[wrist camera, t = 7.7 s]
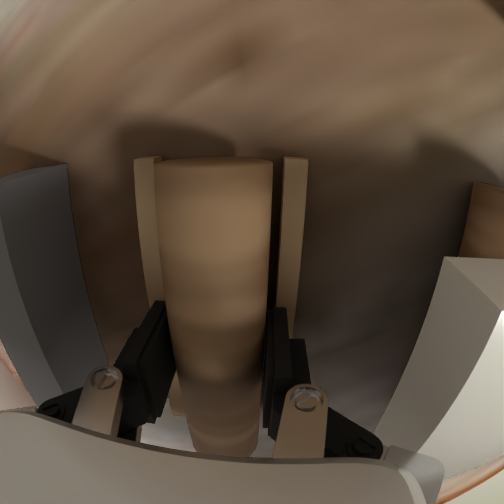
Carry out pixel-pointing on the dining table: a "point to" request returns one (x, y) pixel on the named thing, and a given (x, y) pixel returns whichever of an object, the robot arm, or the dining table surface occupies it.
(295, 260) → the track
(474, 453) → the slab
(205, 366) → the roller
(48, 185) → the grey rectangular bar
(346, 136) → the dining table surface
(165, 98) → the dining table surface
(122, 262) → the dining table surface
